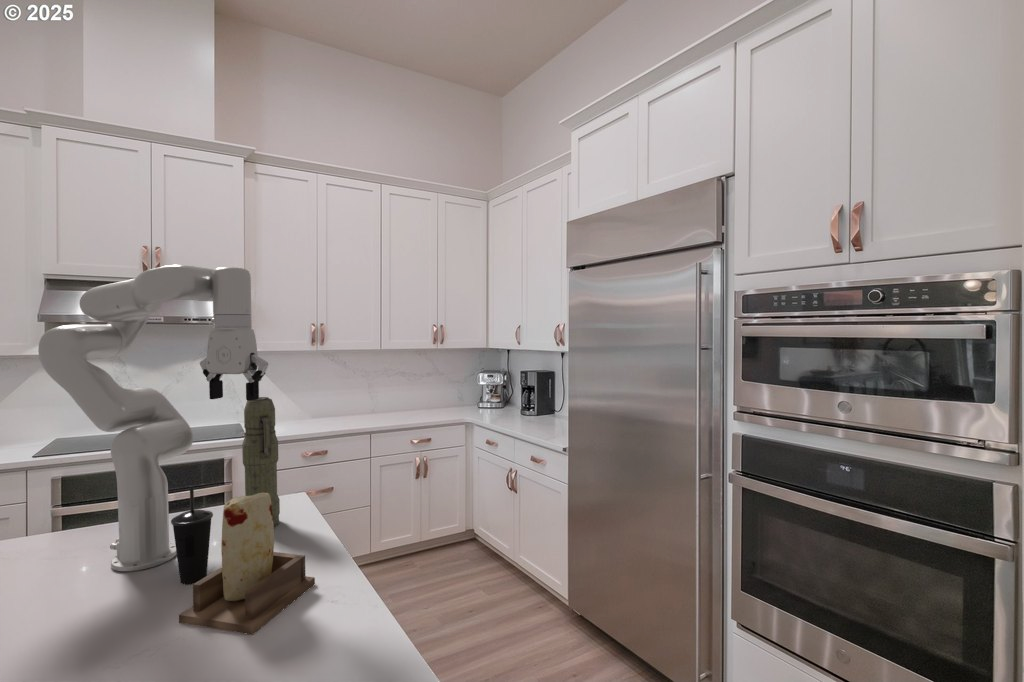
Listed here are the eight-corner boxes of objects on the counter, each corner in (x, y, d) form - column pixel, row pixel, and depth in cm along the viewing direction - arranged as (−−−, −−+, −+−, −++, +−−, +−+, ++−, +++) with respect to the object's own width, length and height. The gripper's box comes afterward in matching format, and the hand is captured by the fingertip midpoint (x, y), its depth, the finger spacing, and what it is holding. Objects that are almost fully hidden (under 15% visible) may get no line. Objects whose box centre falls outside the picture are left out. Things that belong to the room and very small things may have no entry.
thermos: (268, 515, 147) (265, 394, 146) (288, 525, 140) (285, 398, 138) (235, 524, 140) (233, 398, 139) (255, 535, 133) (252, 402, 132)
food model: (231, 611, 95) (229, 505, 94) (215, 599, 99) (212, 498, 98) (281, 589, 103) (279, 491, 102) (264, 579, 107) (262, 485, 106)
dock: (178, 622, 94) (178, 588, 94) (250, 575, 111) (250, 546, 111) (252, 634, 90) (251, 598, 90) (314, 584, 108) (314, 554, 107)
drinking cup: (222, 574, 112) (220, 484, 111) (187, 591, 105) (185, 495, 104) (199, 567, 115) (197, 480, 115) (164, 583, 108) (162, 490, 108)
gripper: (186, 323, 112) (188, 400, 113) (253, 322, 108) (254, 403, 109) (214, 323, 120) (215, 395, 120) (277, 323, 116) (278, 398, 116)
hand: (234, 399), depth 114 cm, fingers open, 9 cm apart
